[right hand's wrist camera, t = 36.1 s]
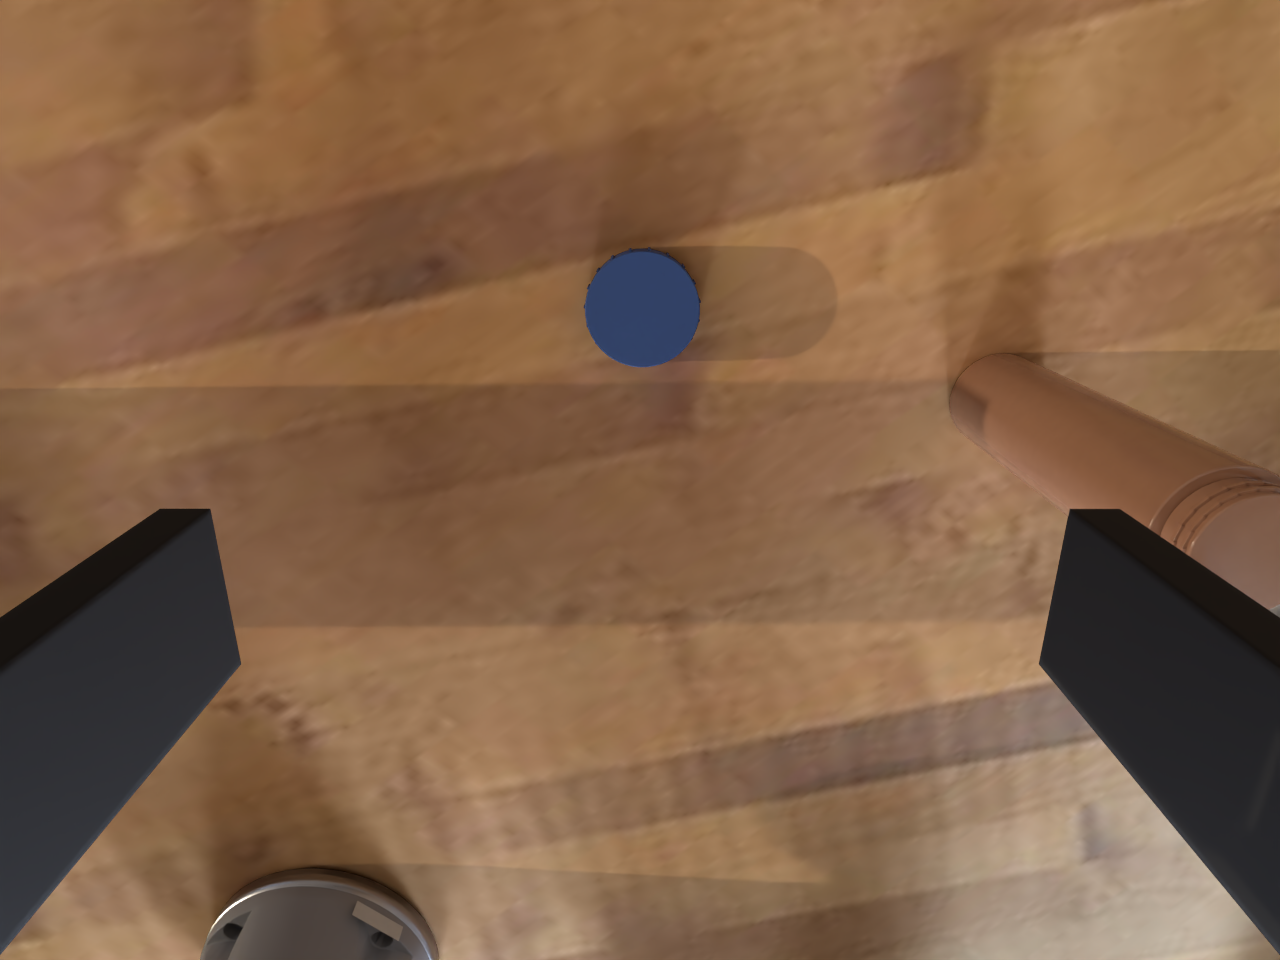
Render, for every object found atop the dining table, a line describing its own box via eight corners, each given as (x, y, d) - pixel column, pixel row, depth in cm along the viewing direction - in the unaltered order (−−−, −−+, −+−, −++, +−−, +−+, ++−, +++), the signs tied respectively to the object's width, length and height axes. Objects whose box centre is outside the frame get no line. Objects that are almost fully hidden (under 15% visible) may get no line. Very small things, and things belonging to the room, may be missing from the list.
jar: (1021, 335, 41) (1313, 452, 23) (1056, 413, 42) (1358, 580, 25) (933, 384, 42) (1150, 533, 24) (971, 459, 43) (1203, 652, 25)
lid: (562, 312, 40) (559, 317, 39) (635, 221, 39) (634, 223, 37) (648, 383, 42) (648, 391, 40) (722, 298, 40) (725, 302, 39)
